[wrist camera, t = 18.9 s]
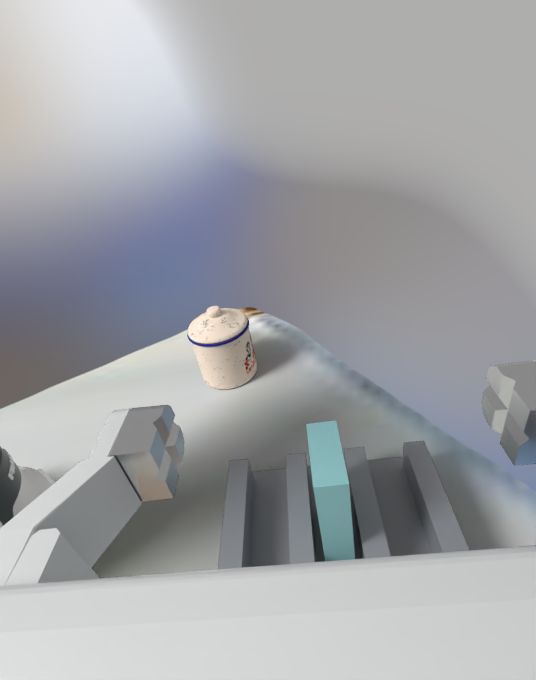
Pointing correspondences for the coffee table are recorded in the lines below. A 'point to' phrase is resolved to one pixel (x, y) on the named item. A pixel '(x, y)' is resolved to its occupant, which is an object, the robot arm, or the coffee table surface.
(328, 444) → the aqua rubber eraser
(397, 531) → the slotted rack
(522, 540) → the coffee table surface
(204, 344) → the teacup with lid
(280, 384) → the coffee table surface
